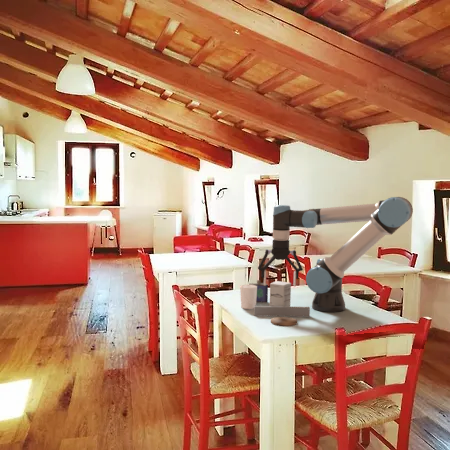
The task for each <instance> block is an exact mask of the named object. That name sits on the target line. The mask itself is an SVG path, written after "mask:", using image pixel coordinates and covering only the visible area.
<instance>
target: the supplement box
mask: <svg viewBox="0 0 450 450" xmlns="http://www.w3.org/2000/svg"><path fill="white" fill-rule="evenodd" d="M291 292H292V282H286V281H280V280H275V281H273V282H271V283H269V306H286V307H291V299H292V297H291V294H292V293H291Z"/></svg>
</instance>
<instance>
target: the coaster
mask: <svg viewBox="0 0 450 450" xmlns="http://www.w3.org/2000/svg"><path fill="white" fill-rule="evenodd" d="M270 323H271V324H272V325H274V326H278V325H279V326H280V327H291V326H292V327H293V326H295V325H298V320H297V319H296V318H294V317H291V316H274V317H272V318H271V319H270Z"/></svg>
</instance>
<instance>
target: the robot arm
mask: <svg viewBox="0 0 450 450" xmlns="http://www.w3.org/2000/svg"><path fill="white" fill-rule="evenodd" d="M413 210H414V209H413V205H412V203H411V202H410V201H409V200H408V199H407V198H405V197H403V196H402V197H401V196H391V197H388V198H387V199H385V200H378V201H377V202H376V203H367V204H364V203H363V204H355V205H343V206H342V205H341V206H333V207H322V208H309V209H304V210H303V209H302V210H298V209H297V210H294V209H291V206H290V205H288V204H287V205H286V204H281V205H280V204H276V205H275V206H274V207H273V214H272V244H271V245H272V247H271V248H272V249H265V252H264V255H263V257H262V259H261V261H260V263H259V264H258V266H257V270H258V271H261V278H262V279H263V284H264V286H266V284H267V268H269V266H270V265H271V264H272V263H273V262H274V261H275V260H277V261H279V260H280V261H281V260H282V261H285V260H286V261H287V262H288V263H289V265H290V266H291V267H292V268H293V269H294V271H293V284H292V285H293V286H294V287H296V285H297V280H298V279H299V276H300V275H299V273H300V272H301V271H303V270H304V269H303V266H302V265H301V263H300V260H299V258H298V256H297V251H296V250H295V249H292V250H290V240H289V239H290V228H305V229H314V228H316V226H319V225H320V226H321V225H333V224H348V223H361V222H362V223H364V222H367V223H365V225H364V226H362V227H361V228H360V229H359V230H358V231H357V232H356V233H355V234H353V236H352V237H350V238H349V239H348V240H347V241H346V242H345V243H344V244H343V245H342V246H340V248H338V249H337V250H336V251H335V252H334V253H333V254H332V255H331V256H324V257H323V258H318V259H317V260H316V265H314V266H313V267H311V268H310V269H309V270H308V271H307V273H306V276H305V282H306V285H307V287H308V288H309V289H310V291H312V292H314V293H315V294H314V297H313V299H312V302H311V307H312V309H314V310H316V311H319V312H325V313H326V312H327V313H340V312H343V311H346V302H345V299H344V295H343V291H342V290H343V278H344V277H345V272H346V271H347V270H348V269H349V268H350V267H351V266H352V265H354V264H355V263H356V262H357V261H358V260H359V259H361V257H362V256H364V255H365V254H366V253H367V252H368V251H369V250H371V249H372V248H373V247H374V246H375V245H376V244H377V243H378V242H379V241H381V239H383V238H384V237H385V236H391V235H393V234H394V233H395V232H396V231H397V230H399V229H401V227H402V226H403V225H404V224H405V223H407V222H408V221H409V220H411V218H412V215H413V212H414V211H413ZM270 254H272V256H271V257H270V258H269V260H268V261H267V262H266V263H265V261H266V260H267V258H268V255H270ZM290 254H291V256H293V258H294V261H295V262H296V264H297V266H298V267H297V266H296V265H295V264H294V262H293V261H292V260H291V258H289V256H290Z"/></svg>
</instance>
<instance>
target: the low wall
mask: <svg viewBox="0 0 450 450" xmlns="http://www.w3.org/2000/svg"><path fill="white" fill-rule="evenodd" d="M253 310H254V311H253V312H254V313H253V315H254V317H303V318H305V317H306V318H307V317H308V318H309V317H310V316H311V315H310V314H311V308H310V306H290V307H286V306H270V305H256V306H255V308H254V309H253Z"/></svg>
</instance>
